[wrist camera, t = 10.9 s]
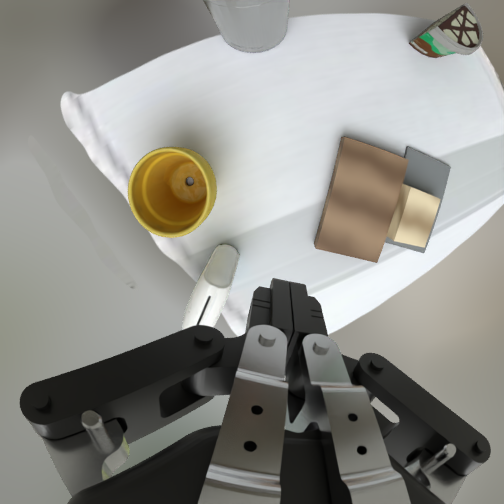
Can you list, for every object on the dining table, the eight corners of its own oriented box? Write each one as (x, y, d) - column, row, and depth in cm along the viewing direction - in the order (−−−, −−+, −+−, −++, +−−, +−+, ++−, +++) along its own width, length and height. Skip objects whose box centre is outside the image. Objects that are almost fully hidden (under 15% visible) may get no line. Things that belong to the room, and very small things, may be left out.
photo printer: (220, 302, 45) (203, 352, 33) (196, 292, 44) (173, 339, 33) (244, 250, 41) (232, 293, 29) (218, 239, 40) (196, 277, 29)
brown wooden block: (341, 137, 33) (345, 136, 31) (402, 158, 33) (408, 159, 31) (313, 243, 39) (315, 248, 38) (372, 257, 39) (377, 262, 38)
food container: (430, 77, 27) (466, 66, 18) (403, 47, 26) (435, 27, 17) (461, 46, 23) (494, 35, 14) (437, 19, 22) (468, 1, 13)
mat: (406, 146, 32) (408, 146, 32) (448, 166, 33) (450, 167, 32) (380, 240, 38) (381, 241, 38) (422, 252, 38) (424, 253, 38)
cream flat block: (402, 183, 33) (410, 186, 31) (432, 195, 34) (440, 199, 32) (386, 235, 36) (393, 241, 34) (417, 242, 37) (424, 247, 36)
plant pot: (147, 166, 37) (113, 175, 28) (207, 133, 35) (186, 130, 26) (177, 226, 40) (151, 251, 31) (239, 198, 38) (227, 216, 29)
